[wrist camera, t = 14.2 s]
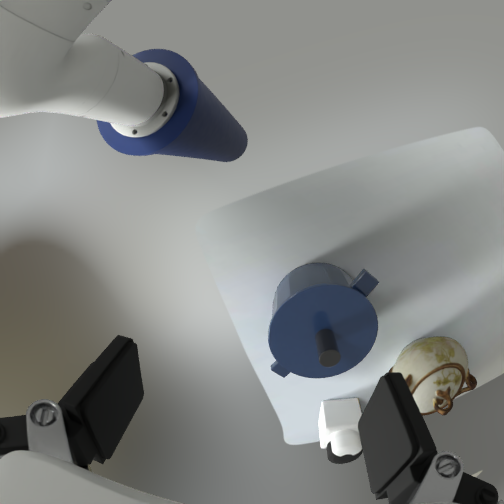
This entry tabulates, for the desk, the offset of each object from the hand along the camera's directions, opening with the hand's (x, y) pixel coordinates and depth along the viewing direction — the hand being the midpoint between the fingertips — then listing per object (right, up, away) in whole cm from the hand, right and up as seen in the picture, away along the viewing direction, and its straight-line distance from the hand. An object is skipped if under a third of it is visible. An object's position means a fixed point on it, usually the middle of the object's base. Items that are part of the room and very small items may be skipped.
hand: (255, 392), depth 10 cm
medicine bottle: (+16, -26, +38) cm, 49 cm away
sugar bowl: (+30, -14, +33) cm, 46 cm away
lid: (+9, -5, +23) cm, 25 cm away
